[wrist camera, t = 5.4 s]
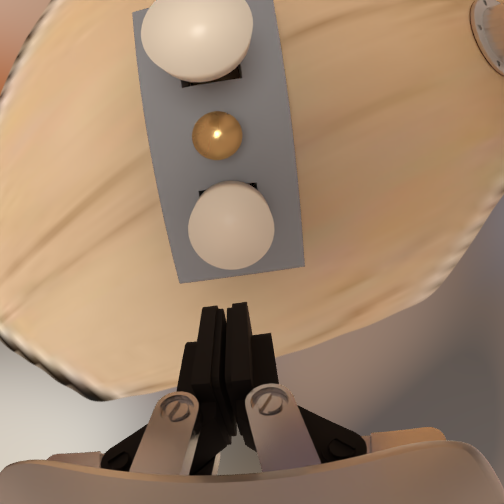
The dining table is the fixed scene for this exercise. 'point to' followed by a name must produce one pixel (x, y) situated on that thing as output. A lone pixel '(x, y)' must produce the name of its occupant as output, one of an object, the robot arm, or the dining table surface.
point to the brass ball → (217, 135)
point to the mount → (237, 165)
